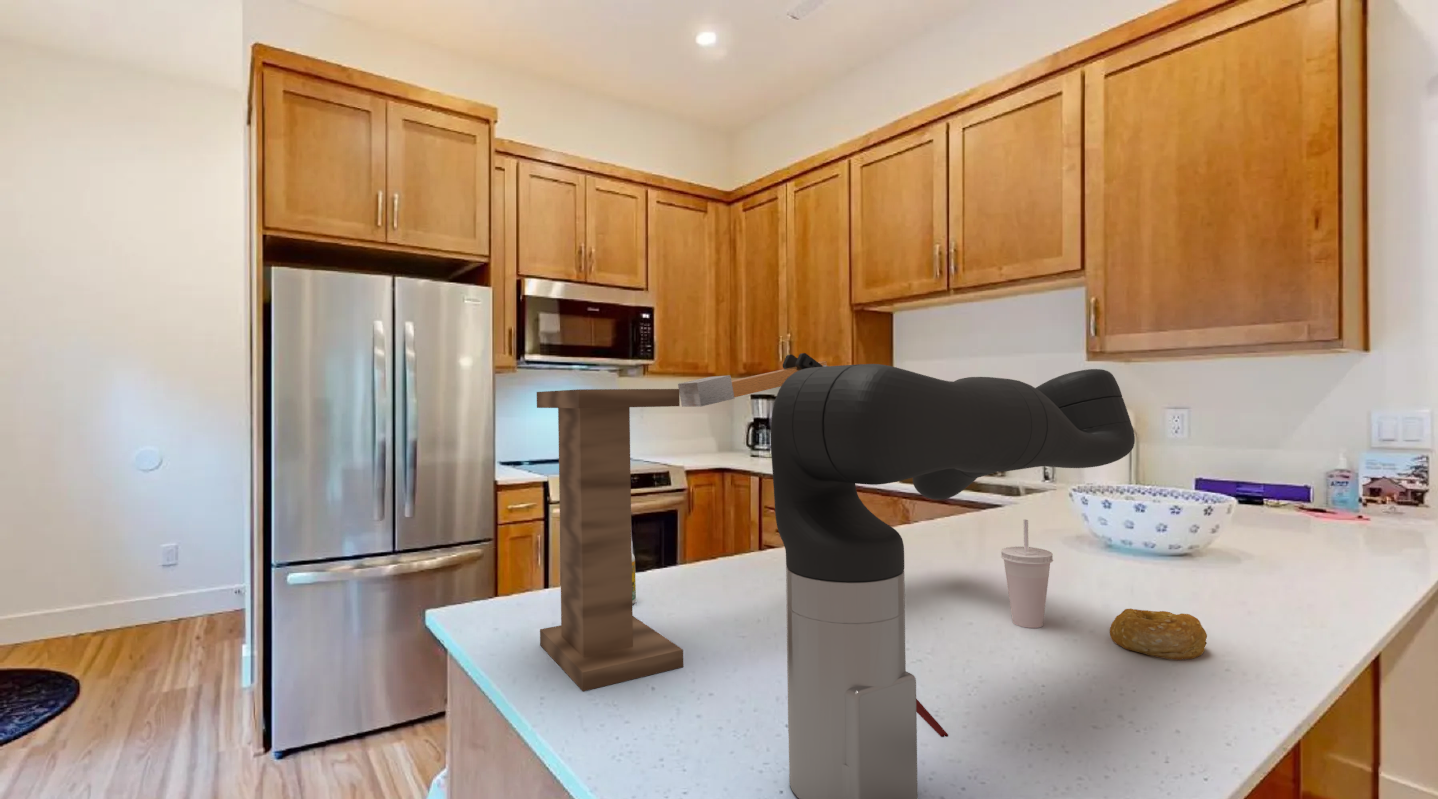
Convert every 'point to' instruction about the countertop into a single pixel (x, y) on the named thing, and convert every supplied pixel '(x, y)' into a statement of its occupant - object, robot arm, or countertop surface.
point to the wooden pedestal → (600, 541)
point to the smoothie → (1027, 582)
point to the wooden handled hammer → (730, 387)
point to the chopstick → (930, 719)
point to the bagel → (1159, 634)
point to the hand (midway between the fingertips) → (792, 359)
